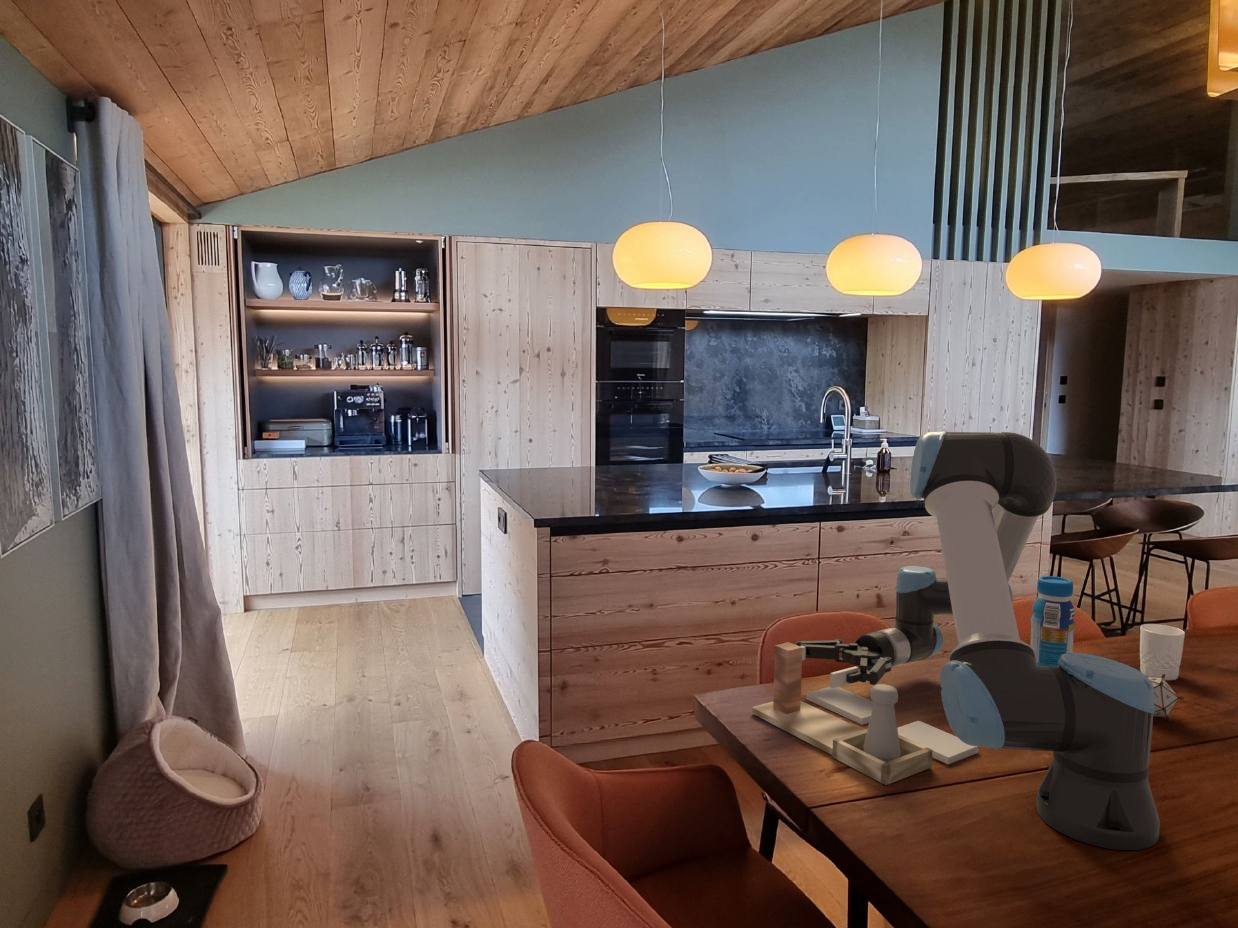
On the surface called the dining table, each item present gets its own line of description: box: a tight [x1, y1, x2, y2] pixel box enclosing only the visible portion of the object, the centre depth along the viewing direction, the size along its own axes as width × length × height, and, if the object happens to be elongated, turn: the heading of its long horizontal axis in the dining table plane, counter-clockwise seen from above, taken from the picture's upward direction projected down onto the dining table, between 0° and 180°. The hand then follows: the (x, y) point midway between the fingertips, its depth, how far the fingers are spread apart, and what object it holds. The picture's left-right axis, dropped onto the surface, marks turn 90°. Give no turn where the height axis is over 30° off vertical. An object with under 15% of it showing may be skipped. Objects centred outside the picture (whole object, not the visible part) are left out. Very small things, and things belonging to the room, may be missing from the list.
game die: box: [1147, 674, 1185, 722], centre depth 153 cm, size 9×8×10 cm
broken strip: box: [805, 686, 979, 765], centre depth 149 cm, size 32×8×1 cm, turn 32°
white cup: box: [1139, 623, 1186, 681], centre depth 174 cm, size 8×8×10 cm
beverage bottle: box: [1029, 575, 1076, 666], centre depth 177 cm, size 8×8×20 cm
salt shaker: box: [863, 683, 901, 762], centre depth 134 cm, size 6×6×13 cm
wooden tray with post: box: [751, 641, 933, 786], centre depth 142 cm, size 32×11×13 cm, turn 32°
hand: (804, 669), depth 155 cm, fingers open, 13 cm apart
